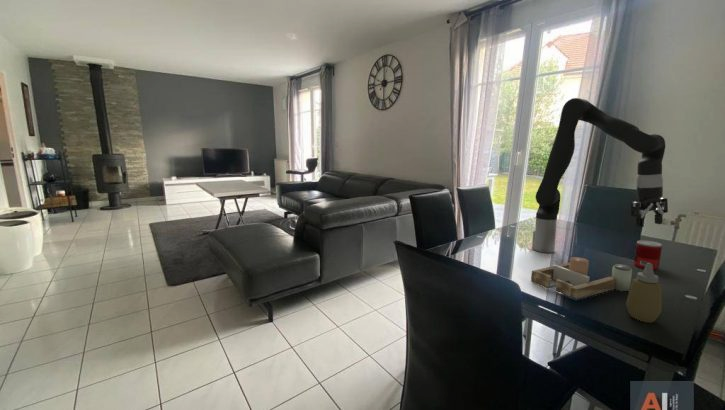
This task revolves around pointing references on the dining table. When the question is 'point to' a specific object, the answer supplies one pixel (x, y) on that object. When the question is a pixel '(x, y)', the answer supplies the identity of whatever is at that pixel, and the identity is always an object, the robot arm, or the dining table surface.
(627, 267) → the sage jar
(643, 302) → the squeeze bottle
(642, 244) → the canned food
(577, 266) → the terracotta jar
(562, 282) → the lane
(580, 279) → the pusher plate
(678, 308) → the dining table surface
